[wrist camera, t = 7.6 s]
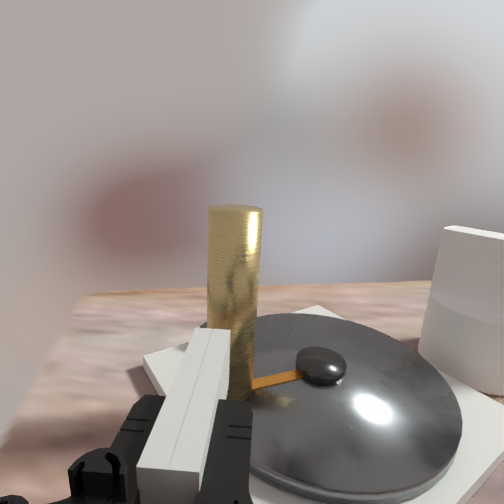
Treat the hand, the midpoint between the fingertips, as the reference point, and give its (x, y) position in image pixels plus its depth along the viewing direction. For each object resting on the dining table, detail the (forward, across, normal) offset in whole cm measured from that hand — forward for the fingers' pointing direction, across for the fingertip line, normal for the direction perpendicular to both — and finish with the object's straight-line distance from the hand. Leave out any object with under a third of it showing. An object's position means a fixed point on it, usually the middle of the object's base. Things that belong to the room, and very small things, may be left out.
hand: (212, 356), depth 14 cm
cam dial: (+9, +7, -7) cm, 13 cm away
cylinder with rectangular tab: (+15, +22, -9) cm, 28 cm away
